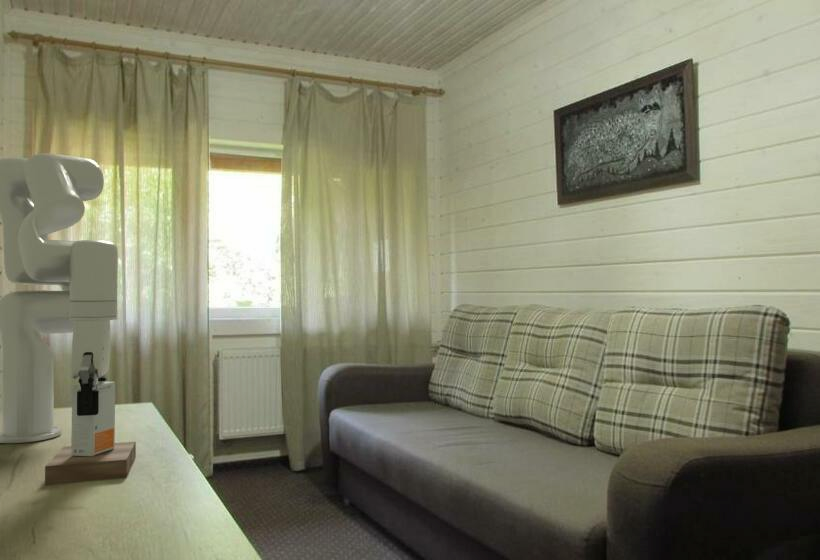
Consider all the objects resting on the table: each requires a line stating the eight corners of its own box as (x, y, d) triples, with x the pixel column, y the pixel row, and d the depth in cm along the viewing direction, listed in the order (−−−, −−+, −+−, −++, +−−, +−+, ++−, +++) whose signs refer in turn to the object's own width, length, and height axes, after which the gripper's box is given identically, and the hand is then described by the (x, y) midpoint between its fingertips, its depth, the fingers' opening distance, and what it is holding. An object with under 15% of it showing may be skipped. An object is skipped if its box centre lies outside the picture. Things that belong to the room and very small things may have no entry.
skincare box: (92, 457, 107) (92, 385, 107) (70, 456, 108) (70, 385, 108) (116, 448, 113) (116, 381, 113) (95, 447, 114) (95, 380, 114)
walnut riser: (63, 463, 115) (63, 446, 115) (135, 457, 118) (135, 441, 118) (44, 485, 101) (45, 466, 101) (126, 477, 105) (126, 459, 105)
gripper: (79, 309, 118) (78, 402, 118) (58, 313, 101) (57, 421, 101) (123, 309, 120) (122, 400, 120) (110, 313, 104) (109, 418, 103)
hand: (92, 409), depth 111 cm, fingers open, 9 cm apart
